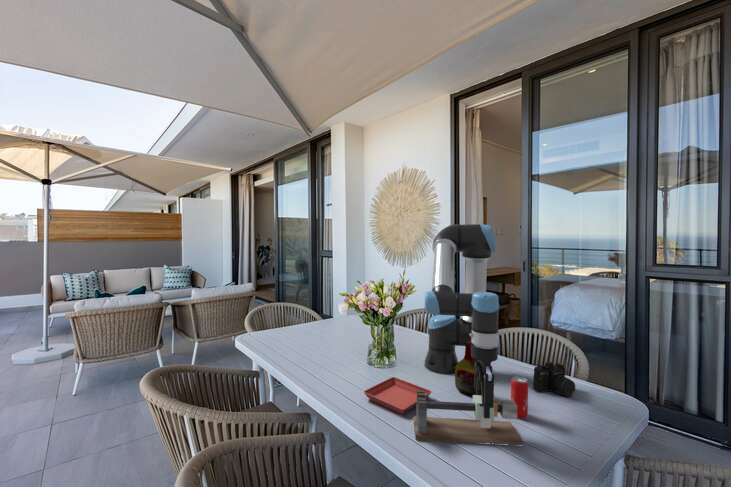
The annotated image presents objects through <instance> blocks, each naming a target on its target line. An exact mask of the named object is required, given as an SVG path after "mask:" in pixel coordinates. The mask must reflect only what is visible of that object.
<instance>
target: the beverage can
mask: <svg viewBox="0 0 731 487" xmlns="http://www.w3.org/2000/svg"><path fill="white" fill-rule="evenodd" d="M510 400H514V402H515V403H516V405H517V419H518V418H525V419H526V418H527V416H528V410H529V409H528V408H529V404H528V403H529V382H528V379H526V378H524V377H520V376H513V377H512V378H511V381H510Z"/></svg>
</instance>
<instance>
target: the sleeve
mask: <svg viewBox="0 0 731 487" xmlns="http://www.w3.org/2000/svg"><path fill="white" fill-rule="evenodd" d="M472 403H475V405H476V411H472V413H473V415H474V417H475V420H481V406H480V405H479V404H482V395H473V397H472ZM491 421H495V417H494V408H491Z"/></svg>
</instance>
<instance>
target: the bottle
mask: <svg viewBox="0 0 731 487" xmlns="http://www.w3.org/2000/svg"><path fill="white" fill-rule="evenodd" d="M472 344H473V343H472V342H471V341H468V342H467V343H466V346H464V347H465V350H464V355H463V358H462V359H460V361H458V363H457V364H456V368H455V372H454V385H455V388H456V389H457V391H458V392H460V393H463V394H465V395H467V396H469V397H472V398H473V395H477V394H476V389H474V380H475V361H474V358H473V357H472V356H471V345H472Z"/></svg>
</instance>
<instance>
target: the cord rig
mask: <svg viewBox="0 0 731 487" xmlns="http://www.w3.org/2000/svg"><path fill="white" fill-rule="evenodd" d="M498 400H499V401H498V404H497V402H496V400H495V399H494V418H498V415H499V414H500V416H501V417H502V419H505V420H507V419H508V420H518V418H517V405H516V403H515V402H514V400H511V399H504V398H503V399H502V398H499V399H498ZM427 410H445V411H446V410H448V411H463V412H464V411H465V412H473V411H476V405H475V403H473V402H456V401H436V400H434V401H433V400H427V398H425V391H424V390H417V405H416V412H415V413H416V414H415V416H413V427H414V429H413V430H414V439H415V440H416V441H430V442H442V443H445V442H446V443H459V442H469V443H468V444H475V443H490V444H489V445H491V444H492V443H493V444H508V445H523V443H524V442H523V441H524V440H522V438H521V436H520V434H518V431H517V430H516V428H515V427H514V425H513V423H512V422H511V421H504V420H494V421H491V428H481V427H480V420H476V419H472V418H471V419H467V418H452V417H451V418H450V417H449V418H448V417H432V416H431V417H430V416H428V415H427V414H428V412H427ZM498 413H499V414H498ZM523 446H524V445H523Z"/></svg>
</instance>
